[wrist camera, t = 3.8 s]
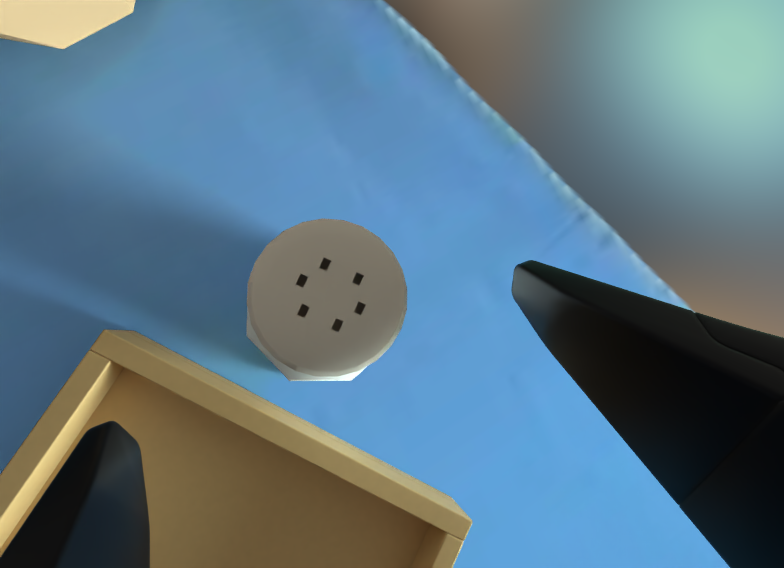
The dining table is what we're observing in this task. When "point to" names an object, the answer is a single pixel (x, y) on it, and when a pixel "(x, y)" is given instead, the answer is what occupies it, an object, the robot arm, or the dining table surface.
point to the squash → (58, 19)
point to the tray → (232, 472)
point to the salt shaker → (325, 300)
